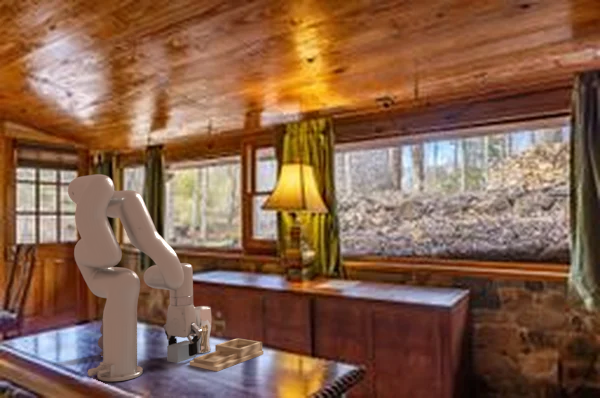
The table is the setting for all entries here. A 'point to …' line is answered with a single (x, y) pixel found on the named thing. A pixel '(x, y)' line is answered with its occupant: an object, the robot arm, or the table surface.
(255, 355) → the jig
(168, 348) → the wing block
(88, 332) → the table surface
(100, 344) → the cat figurine
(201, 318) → the beer glass
